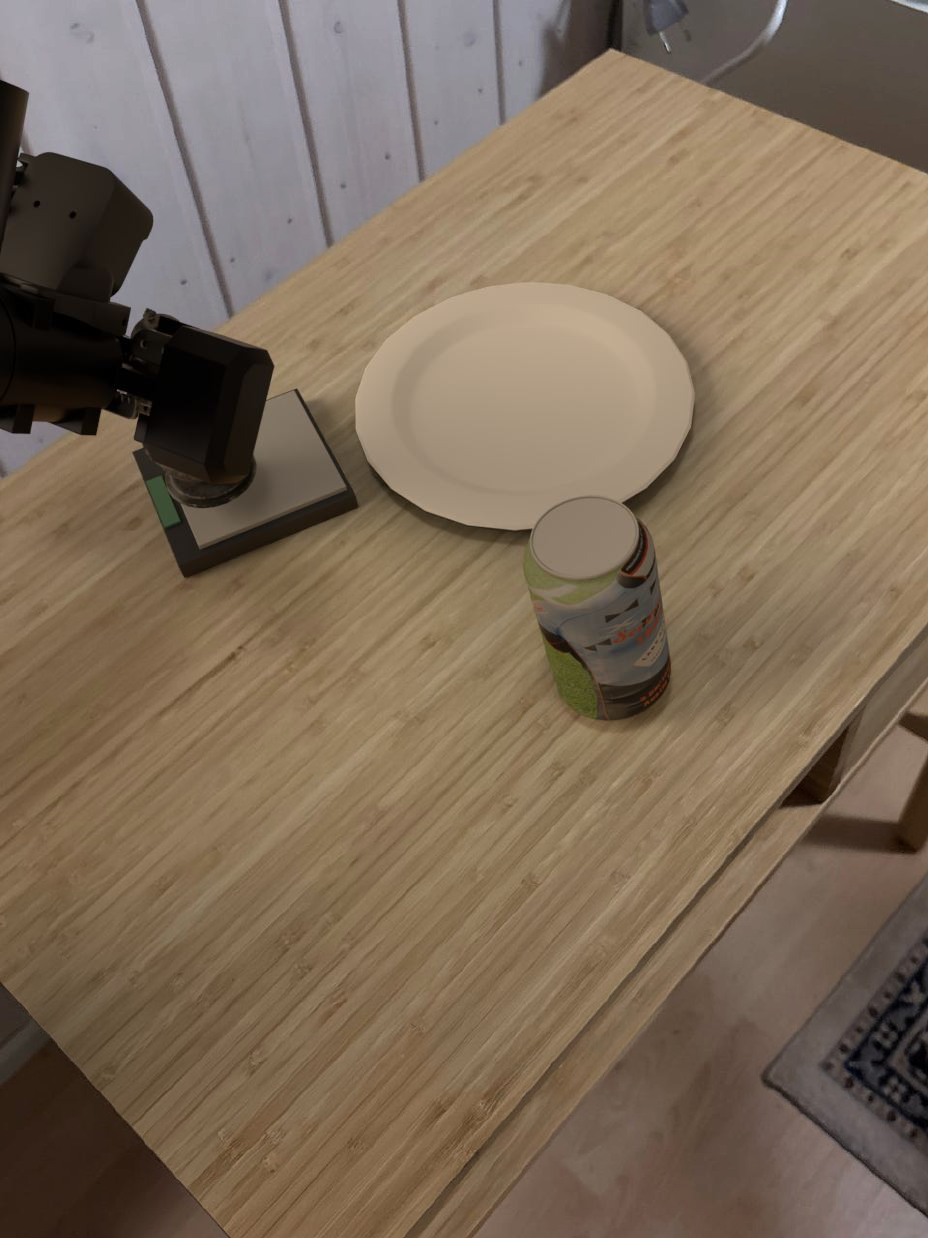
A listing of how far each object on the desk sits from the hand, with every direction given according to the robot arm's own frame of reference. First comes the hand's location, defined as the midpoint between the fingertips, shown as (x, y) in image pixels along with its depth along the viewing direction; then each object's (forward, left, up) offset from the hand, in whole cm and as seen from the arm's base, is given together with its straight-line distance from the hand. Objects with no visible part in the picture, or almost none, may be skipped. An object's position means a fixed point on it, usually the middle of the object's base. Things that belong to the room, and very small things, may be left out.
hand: (193, 373), depth 61 cm
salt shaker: (-1, -1, -7) cm, 7 cm away
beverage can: (+13, -21, -10) cm, 27 cm away
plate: (+18, -2, -10) cm, 21 cm away
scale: (+1, +1, -10) cm, 10 cm away
